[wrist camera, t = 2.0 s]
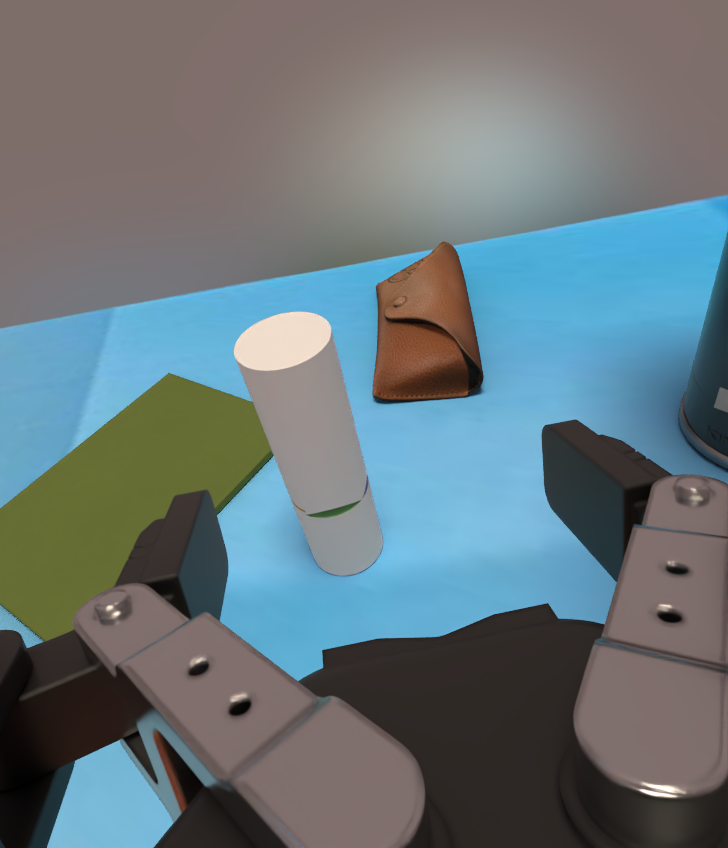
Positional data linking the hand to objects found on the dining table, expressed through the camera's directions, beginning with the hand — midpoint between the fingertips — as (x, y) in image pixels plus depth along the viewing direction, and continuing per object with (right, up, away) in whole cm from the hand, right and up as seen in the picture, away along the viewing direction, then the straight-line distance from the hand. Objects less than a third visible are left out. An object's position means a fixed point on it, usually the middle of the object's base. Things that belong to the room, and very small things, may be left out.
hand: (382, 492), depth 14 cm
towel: (-17, -3, +28) cm, 33 cm away
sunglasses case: (+5, +9, +36) cm, 38 cm away
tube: (-1, -6, +21) cm, 22 cm away
